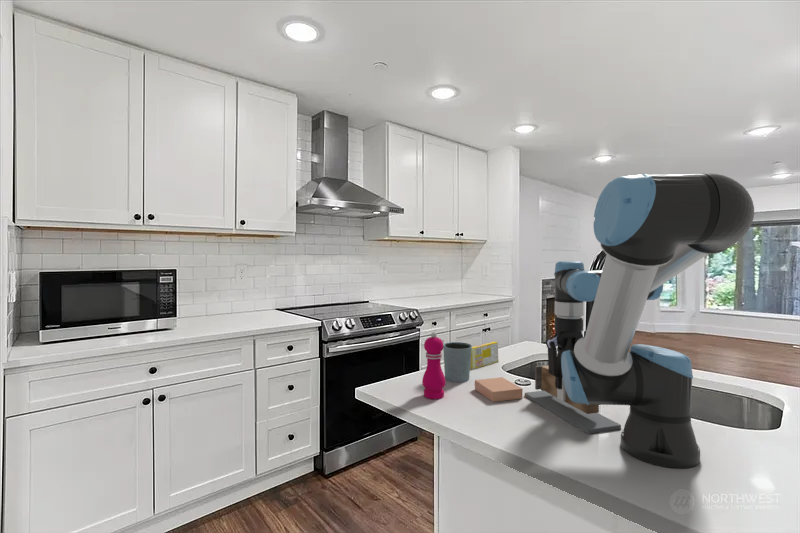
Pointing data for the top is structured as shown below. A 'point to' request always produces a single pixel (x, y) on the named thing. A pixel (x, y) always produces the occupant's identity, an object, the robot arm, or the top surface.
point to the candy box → (484, 355)
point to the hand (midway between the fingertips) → (567, 398)
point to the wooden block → (548, 384)
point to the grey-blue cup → (457, 361)
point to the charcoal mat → (573, 413)
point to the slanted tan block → (498, 389)
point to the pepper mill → (433, 368)
